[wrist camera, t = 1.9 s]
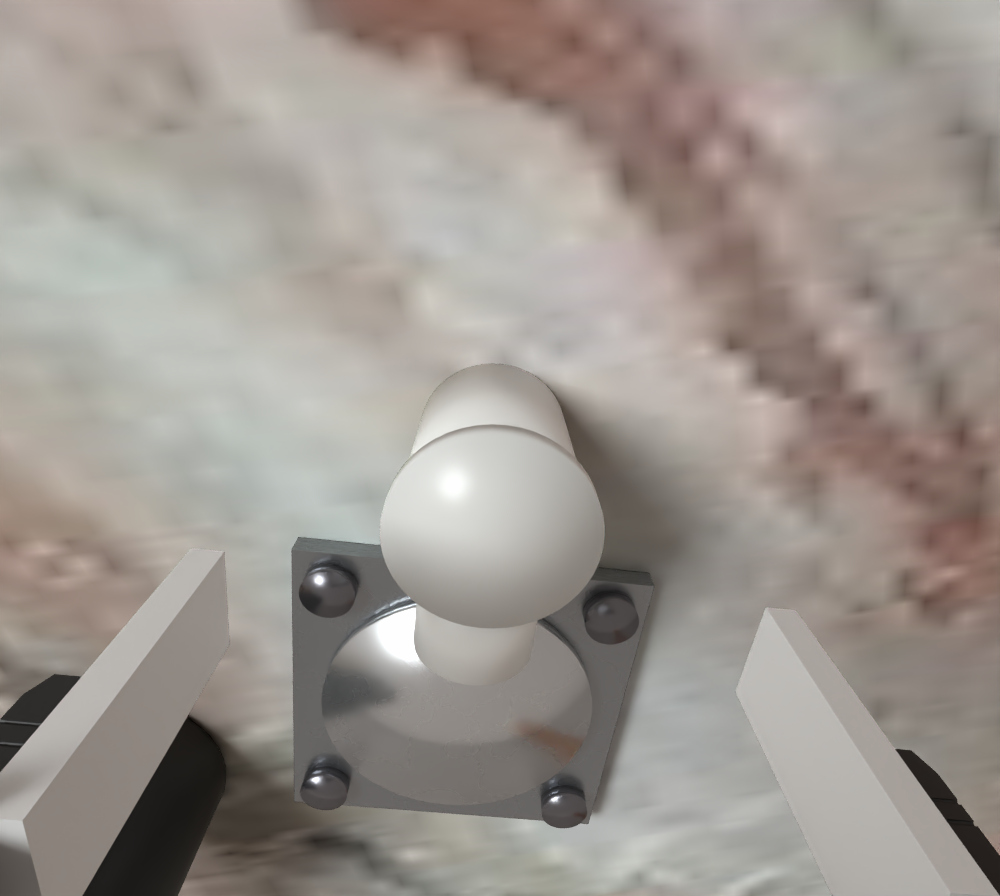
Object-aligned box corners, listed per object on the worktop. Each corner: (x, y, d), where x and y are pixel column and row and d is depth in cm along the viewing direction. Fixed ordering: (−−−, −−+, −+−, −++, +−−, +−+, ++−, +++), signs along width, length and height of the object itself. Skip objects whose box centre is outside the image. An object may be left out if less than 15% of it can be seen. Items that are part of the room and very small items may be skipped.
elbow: (419, 346, 24) (385, 421, 16) (585, 367, 24) (626, 449, 17) (404, 547, 28) (370, 683, 20) (548, 562, 28) (568, 700, 20)
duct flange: (298, 537, 27) (286, 558, 26) (649, 573, 28) (658, 595, 27) (299, 784, 34) (290, 813, 32) (585, 806, 35) (590, 836, 33)
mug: (153, 638, 29) (20, 818, 21) (257, 801, 34) (182, 1000, 26) (-19, 679, 30) (-211, 866, 22) (106, 832, 35) (-14, 1034, 27)
